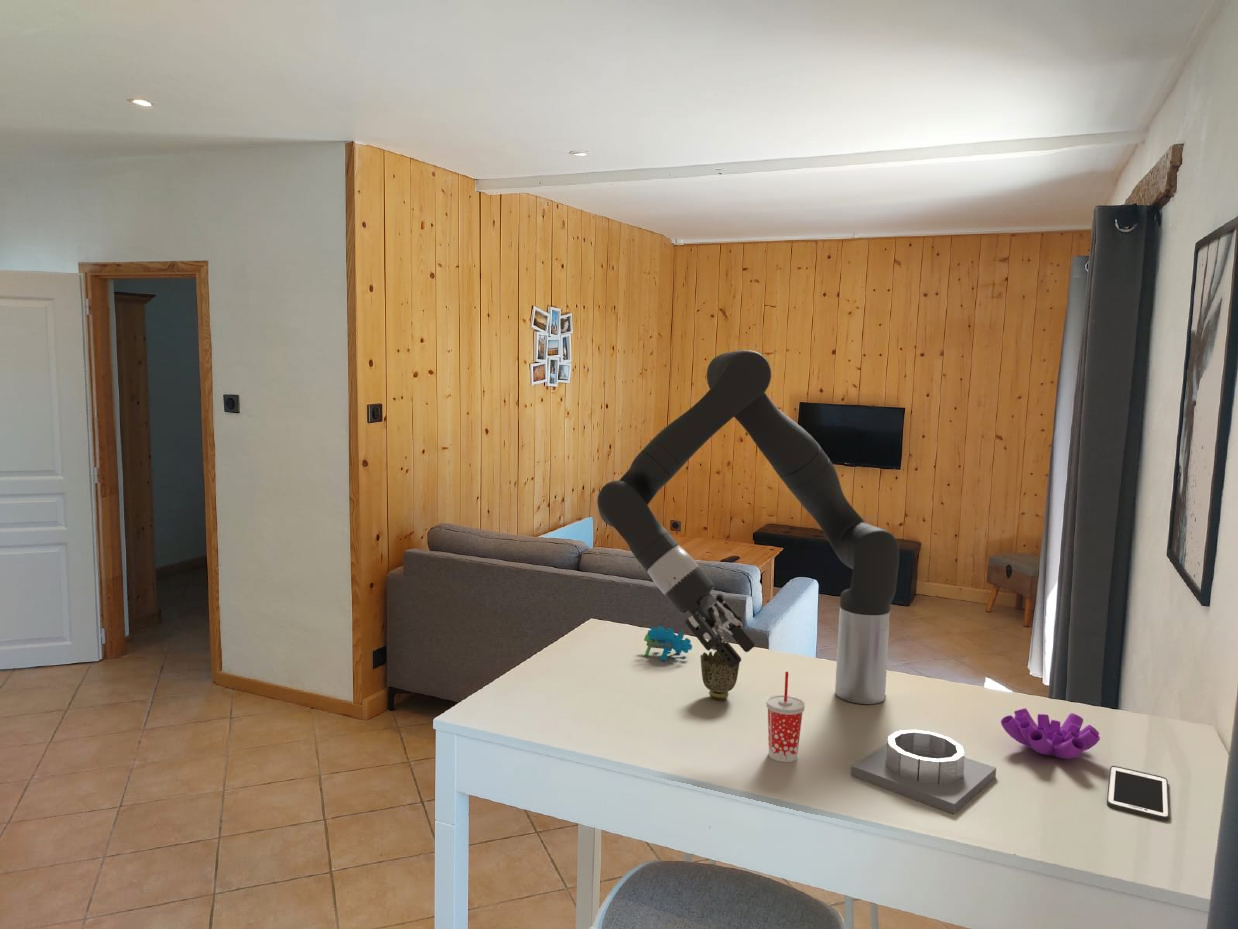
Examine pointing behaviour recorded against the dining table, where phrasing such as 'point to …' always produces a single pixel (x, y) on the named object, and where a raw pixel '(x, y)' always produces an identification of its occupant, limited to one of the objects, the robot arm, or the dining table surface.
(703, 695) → the dining table surface
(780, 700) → the beverage cup
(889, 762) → the collar
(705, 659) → the cup
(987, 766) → the flange board
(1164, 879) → the dining table surface
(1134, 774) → the cell phone
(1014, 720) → the purple tube coral
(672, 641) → the blue toy figure
